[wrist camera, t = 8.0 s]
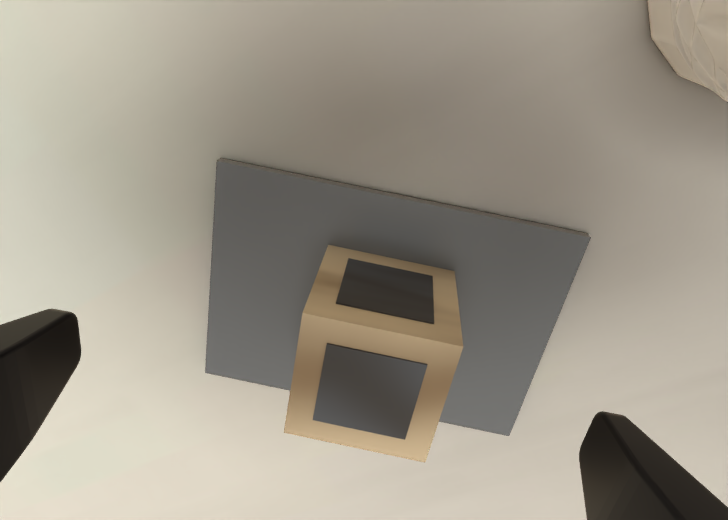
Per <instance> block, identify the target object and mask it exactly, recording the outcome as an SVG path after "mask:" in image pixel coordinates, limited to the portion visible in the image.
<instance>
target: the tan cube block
mask: <svg viewBox="0 0 728 520" xmlns="http://www.w3.org/2000/svg"><path fill="white" fill-rule="evenodd" d="M462 349H463V339H462V331H461V322H460V313H459V305H458V296H457V288H456V279H455V271H451V270H446V269H442V268H437V267H432V266H427V265H423V264H418V263H413V262H408V261H403V260H399V259H394V258H389V257H384V256H380V255H375V254H370V253H365V252H361V251H356V250H351V249H346V248H342V247H337V246H332V245H328V247H327V250H326V252H325V255H324V257H323V260H322V263H321V265H320V268H319V271H318V273H317V276H316V279H315V281H314V284H313V286H312V289H311V292H310V294H309V297H308V300H307V302H306V305H305V307H304V310H303V313H302V319H301V325H300V332H299V338H298V345H297V351H296V358H295V364H294V370H293V377H292V383H291V390H290V396H289V403H288V409H287V416H286V422H285V428H284V433H288V434H293V435H298V436H303V437H307V438H312V439H317V440H321V441H326V442H331V443H336V444H340V445H345V446H350V447H354V448H359V449H364V450H369V451H373V452H378V453H383V454H387V455H392V456H397V457H402V458H406V459H411V460H416V461H420V462H425V461H426V458H427V455H428V452H429V449H430V446H431V443H432V440H433V437H434V434H435V431H436V428H437V425H438V422H439V419H440V416H441V413H442V410H443V407H444V404H445V401H446V398H447V395H448V392H449V389H450V386H451V383H452V380H453V377H454V374H455V371H456V368H457V365H458V362H459V359H460V356H461V352H462Z"/></svg>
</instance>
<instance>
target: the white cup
mask: <svg viewBox="0 0 728 520" xmlns="http://www.w3.org/2000/svg"><path fill="white" fill-rule="evenodd" d="M647 1H648V11H649V20H650V30H651V38H652V40H653V41H654V43H655V44H656V45H657V47H658V48H659V50H660V51H661V52H662V54H663V55H664V57H665V58H666V59H667V61H668V62H669V64H670V65H671V66H672V68H673V69H674V71H675V72H676V73H677V75H679V76H680V77H683V78H685V79H687V80H690V81H692V82H695V83H697V84H699V85H702V86H704V87H706V88H708V89H710V90H712V91H713V92H715V93H716V94H717V95H718V96H720V97H721V98H722V99H724V100H725V101H726V102H727V103H728V0H647Z"/></svg>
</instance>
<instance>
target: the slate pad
mask: <svg viewBox="0 0 728 520" xmlns="http://www.w3.org/2000/svg"><path fill="white" fill-rule="evenodd" d="M590 238H591V237H590V236H589V234H588V233H584V232H579V231H574V230H569V229H565V228H560V227H555V226H550V225H545V224H540V223H535V222H530V221H526V220H521V219H516V218H511V217H506V216H501V215H496V214H491V213H487V212H482V211H477V210H472V209H467V208H462V207H457V206H452V205H448V204H443V203H438V202H433V201H428V200H423V199H418V198H413V197H409V196H404V195H399V194H394V193H389V192H384V191H379V190H374V189H370V188H365V187H360V186H355V185H350V184H345V183H340V182H335V181H331V180H326V179H321V178H316V177H311V176H306V175H301V174H296V173H292V172H287V171H282V170H277V169H272V168H267V167H262V166H257V165H253V164H248V163H243V162H238V161H233V160H228V159H223V158H220V159H219V160H217V167H216V186H215V204H214V222H213V240H212V258H211V277H210V295H209V313H208V331H207V350H206V368H205V373H209V374H214V375H218V376H223V377H228V378H233V379H238V380H242V381H247V382H252V383H257V384H262V385H266V386H271V387H276V388H281V389H286V390H291V383H292V377H293V370H294V364H295V358H296V351H297V345H298V338H299V332H300V325H301V319H302V313H303V310H304V307H305V305H306V302H307V300H308V297H309V294H310V292H311V289H312V286H313V284H314V281H315V279H316V276H317V273H318V271H319V268H320V265H321V263H322V260H323V257H324V255H325V252H326V250H327V247H328V245H332V246H337V247H342V248H346V249H351V250H356V251H361V252H365V253H370V254H375V255H380V256H384V257H389V258H394V259H399V260H403V261H408V262H413V263H418V264H423V265H427V266H432V267H437V268H442V269H446V270H451V271H455V279H456V288H457V296H458V305H459V313H460V322H461V331H462V339H463V349H462V352H461V356H460V359H459V362H458V365H457V368H456V371H455V374H454V377H453V380H452V383H451V386H450V389H449V392H448V395H447V398H446V401H445V404H444V407H443V410H442V413H441V416H440V419H439V422H444V423H449V424H454V425H458V426H463V427H468V428H473V429H478V430H482V431H487V432H492V433H497V434H502V435H506V436H509V435H510V432H511V430H512V428H513V425H514V423H515V420H516V418H517V415H518V413H519V411H520V408H521V406H522V403H523V401H524V398H525V396H526V394H527V391H528V389H529V386H530V384H531V381H532V379H533V377H534V374H535V372H536V369H537V367H538V365H539V362H540V360H541V357H542V355H543V352H544V350H545V348H546V345H547V343H548V340H549V338H550V335H551V333H552V331H553V328H554V326H555V323H556V321H557V318H558V316H559V314H560V311H561V309H562V306H563V304H564V301H565V299H566V297H567V294H568V292H569V289H570V287H571V284H572V282H573V280H574V277H575V275H576V272H577V270H578V267H579V265H580V263H581V260H582V258H583V255H584V253H585V250H586V248H587V246H588V243H589V241H590Z"/></svg>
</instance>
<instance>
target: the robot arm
mask: <svg viewBox="0 0 728 520" xmlns="http://www.w3.org/2000/svg"><path fill="white" fill-rule="evenodd" d="M80 357H81V345H80V336H79V327H78V320H77V317H76V315H75V314H73V313H72V312H68V311H62V310H57V309H47V310H44V311H41V312H38V313H35V314H32V315H29V316H26V317H23V318H20V319H17V320H14V321H11V322H8V323H5V324H2V325H0V482H1V481H2V479H3V478H4V477H5V475H6V474H7V473H8V471H9V470H10V469H11V467H12V466H13V465H14V464H15V462H16V461H17V460H18V458H19V457H20V456H21V454H22V453H23V452H24V450H25V449H26V447H27V446H28V445H29V443H30V442H31V440H32V439H33V437H34V436H35V434H36V433H37V431H38V430H39V428H40V427H41V425H42V423H43V422H44V420H45V418H46V417H47V415H48V413H49V412H50V410H51V408H52V407H53V405H54V403H55V402H56V400H57V399H58V397H59V395H60V394H61V392H62V390H63V389H64V387H65V385H66V384H67V382H68V380H69V379H70V377H71V375H72V374H73V372H74V370H75V369H76V367H77V365H78V363H79V361H80ZM579 462H580V469H581V477H582V485H583V492H584V500H585V507H586V515H587V520H728V507H727V506H726V505H725V504H723V503H722V502H721V501H720V500H719V499H718V498H717V497H716V496H714V495H713V494H712V493H711V492H710V491H709V490H708V489H707V488H705V487H704V486H703V485H702V484H701V483H700V482H699V481H698V480H696V479H695V478H694V477H693V476H692V475H691V474H690V473H689V472H687V471H686V470H685V469H684V468H683V467H682V466H681V465H680V464H678V463H677V462H676V461H675V460H674V459H673V458H672V457H671V456H669V455H668V454H667V453H666V452H665V451H664V450H663V449H662V448H660V447H659V446H658V445H657V444H656V443H655V442H654V441H653V440H651V439H650V438H649V437H648V436H647V435H646V434H645V433H644V432H642V431H641V430H640V429H639V428H638V427H637V426H636V425H634V424H633V423H632V422H631V421H630V420H629V419H628V418H626V417H625V416H623V415H619V414H614V413H609V412H603V411H602V412H599V413H597V414H596V415H595V417H594V418H593V420H592V423H591V425H590V427H589V429H588V431H587V434H586V436H585V438H584V440H583V442H582V445H581V448H580V453H579Z"/></svg>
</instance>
